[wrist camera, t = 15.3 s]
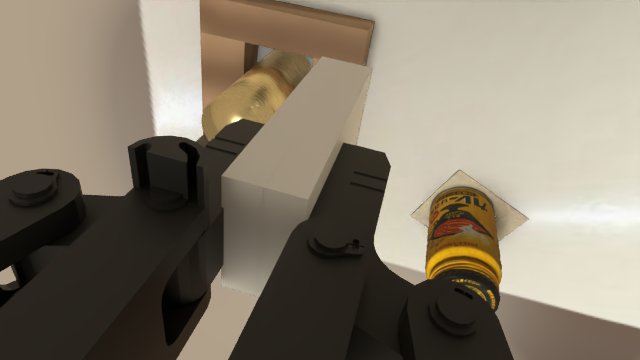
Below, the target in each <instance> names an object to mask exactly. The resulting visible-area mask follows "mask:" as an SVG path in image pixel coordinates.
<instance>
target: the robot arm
mask: <svg viewBox="0 0 640 360" xmlns="http://www.w3.org/2000/svg"><path fill="white" fill-rule="evenodd" d="M371 73H372V68H371V67H367V66H362V65H358V64H354V63H349V62H345V61H340V60H336V59H331V58H327V57H323V56H322V57H321V58H320V60H319V61H318V62H317V63H316V64H315V65H314V67H313V68H312V69H311V70H310V71H309V73H308V74H307V75H306V76H305V77H304V78H303V80H302V81H301V82H300V83H299V84H298V86H297V87H296V88H295V89H294V90H293V92H292V93H291V94H290V95H289V96H288V97H287V99H286V100H285V101H284V102H283V103H282V105H281V106H280V107H279V108H278V109H277V110H276V112H275V113H274V114H273V115H272V116H271V118H270V119H269V120H268V121H267V122H266V124H263V123H259V122H255V121H251V120H247V119H240V120H238V121H236V122H233V123H231V124H228V125H226V126H225V127H224V128H223V129H222V130H221V131H220V132H219V133H218V134H217V135H216V136H215V138H214V139H212V140H211V141H210V142H209V143H208V144H206V147H205V148H204V147H202V146H201V145H200V144H199V143H197V142H195V141H192V140H190V139H188V138H183V137H176V136H155V137H151V138H147V139H143V140H140V141H137V142H136V143H134V144H132V145H130V146H128V152H129V159H130V166H131V172H132V179H133V186H134V188H133V189H132V190H131V191H129V192H128V193H127V194H126V195H125V196H99V195H83V194H82V190H81V186H80V182H79V180H78V179H77V178H76V177H75V176H74V175H73V174H71V173H68V172H65V171H62V170H59V169H37V170H31V171H25V172H22V173H19V174H16V175H13V176H9V177H7V178H5V179H3V180H0V272H1V271H2V270H4V269H6V268H7V267H9V266H11V268H12V270H13V273H14V275H15V277H16V281H13V282H11V283H9V284H6V285H0V360H176V359H177V357H178V356H179V354H180V352H181V351H182V349H183V347H184V346H185V344H186V342H187V341H188V339H189V337H190V336H191V334H192V332H193V331H194V329H195V327H196V326H197V324H198V323H199V321H200V319H201V317H202V316H203V314H204V313H205V311H206V309H207V307H208V305H209V302H210V298H211V283H212V282H213V280H214V278H215V277H216V275H217V274H218V272H219V271H220V269H221V270H222V271H221V275H222V276H221V282H222V283H221V285H222V286H225V287H228V288H231V289H234V290H238V291H241V292H244V293H247V294H250V295H253V296H257V297H259V299H258V301H257V303H256V305H255V307H254V309H253V311H252V313H251V315H250V317H249V319H248V321H247V323H246V325H245V327H244V329H243V331H242V333H241V335H240V337H239V339H238V341H237V343H236V345H235V347H234V349H233V351H232V353H231V355H230V357H229V359H228V360H514V359H513V356H512V354H511V351H510V348H509V346H508V343H507V341H506V338H505V335H504V333H503V330H502V327H501V325H500V322H499V319H498V318H497V316H496V314H495V312H494V311H493V309H492V307H491V306H490V304H489V303H488V302H487V301H485V300H484V299H483V298H482V297H481V296H480V295H479V294H478V293H477V292H476V291H474V290H472V289H470V288H468V287H466V286H465V285H463V284H461V283H458V282H454V281H450V280H447V279H427V280H426V281H423V282H421V283H419V284H417V285H413V284H411V283H410V282H408V281H406V280H404V279H403V278H401V277H399V276H398V275H396V274H395V273H394V272H392V271H391V270H389V269H388V267H387V266H386V265H385V264H384V263H383V262H382V261H381V260H380V258H379V256H378V255H377V253H376V250H375V247H374V234H375V230H376V226H377V222H378V218H379V213H380V209H381V205H382V201H383V197H384V193H385V189H386V185H387V180H388V176H389V172H390V168H391V166H390V163H389V161H388V159H387V157H386V154H385V153H384V152H380V151H376V150H372V149H368V148H364V147H360V146H356V143H357V139H358V134H359V129H360V124H361V120H362V115H363V110H364V106H365V101H366V96H367V92H368V87H369V82H370V78H371Z"/></svg>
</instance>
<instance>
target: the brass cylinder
mask: <svg viewBox="0 0 640 360" xmlns="http://www.w3.org/2000/svg"><path fill="white" fill-rule="evenodd" d="M310 70H311V69H310V66H309V63H308V61H307V60H306V58H305V57H304V56H303V55H299V54H295V53H291V52H286V51H282V50H277V49H275V50H273V51H272V52H270V53H269V54H268V55H267V56H266V57H264V58H263V59H262V60H261V61H260V62H258V63H257V64H256V65H255V66H254V67H252V68H251V69H250V70H249V71H248V72H246V73H245V74H244V75H243V76H242V77H241V78H239V79H238V80H237V81H236V82H235V83H233V84H232V85H231V86H230V87H229V88H227V89H226V90H225V91H224V92H223V93H221V94H220V95H219V96H218V97H217V98H215V99H214V100H213V101H212V102H211V103H209V104H208V105H207V106H206V108H205V110H204V112H203V114H202V127H203V131H204V134H205V136H206V138H207V139H208V141H209V142H210V141H211V140H212V139H214V138H215V136H216V135H217V134H218V133H219V132H220V131H221V130H222V129H223V128H224V127H225V126H226V125H228V124H231V123H233V122H236V121H238V120H240V119H247V120H251V121H255V122H259V123H263V124H266V122H267V121H268V120H269V119H270V118H271V116H272V115H273V114H274V113H275V112H276V110H277V109H278V108H279V107H280V106H281V105H282V103H283V102H284V101H285V100H286V99H287V97H288V96H289V95H290V94H291V93H292V92H293V90H294V89H295V88H296V87H297V86H298V84H299V83H300V82H301V81H302V80H303V78H304V77H305V76H306V75H307V74H308V73H309V71H310Z"/></svg>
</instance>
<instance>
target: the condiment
mask: <svg viewBox="0 0 640 360" xmlns="http://www.w3.org/2000/svg"><path fill="white" fill-rule="evenodd" d="M495 216H496V218H495ZM411 217H413V218H414V219H416V220H417V221H419V222H420V223H422V224H423V225H425V226H426V227H427V228H428V239H427V241H428V244H427V251H426V267H425V269H426V276H427V278H428V279H447V280H450V281H454V282H458V283H461V284H463V285H465V286H466V287H468V288H470V289H472V290H474V291H476V292H477V293H478V294H479V295H480V296H481V297H482V298H483V299H484V300H485V301H487V302H488V303H489V304H490V306H491V307H492V309H493V311H494V312H495V311H496V310H497V309H498V305H499V302H500V296H499V284H500V282H501V278H502V273H501V269H502V265H501V262H500V251H499V244H498V241H500V240H501V239H502V238H504V236H506V235H508V234H509V233H511V232H512V231H514V230H515V229H516V228H517V227H519V226H521V225H522V224H523V223H525V222H526V221H527V220H529V219H528V218H526V217H525V216H523V215H522V214H521V213H519V212H518V211H517V210H515V209H513V208H512V207H511V206H509V205H508V204H507V203H505V202H504V201H502V200H501V199H500V198H498V197H497V196H496V195H494V194H493V193H492V192H490V191H489V190H487V189H486V188H485V187H483V186H482V185H481V184H479V183H478V182H476V181H475V180H474V179H472V178H470V177H469V176H468V175H466V174H465V173H463V172H462V171H460V170H459V171H458V172H457V173H456V174H455V175H453V176H452V177H451V178H450V179H449V180H448V181H447V182H446V183H445V184H443V185H442V186H441V187H440V188H439V189H438V190H437V191H436V192H435V193H434V194H433V195H432V196H431V197H430V198H429V199H427V200H426V201H425V202H424V203H423V204H422V205H421V206H420V208H418V209H417V210H416V211H415V212H414V213H413V214H412V215H411ZM495 219H496V220H497V221H495Z"/></svg>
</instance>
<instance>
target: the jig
mask: <svg viewBox="0 0 640 360" xmlns="http://www.w3.org/2000/svg"><path fill="white" fill-rule="evenodd" d="M374 23H375V21H370V20H365V19H360V18H355V17H351V16H346V15H341V14H336V13H332V12H327V11H322V10H317V9H313V8H308V7H303V6H298V5H294V4H289V3H284V2H279V1H275V0H200V29H201V65H202V101H203V112H204V110H205V108H206V106H207V105H208V104H209V103H211V102H212V101H213V100H214V99H215V98H217V97H218V96H219V95H220V94H221V93H223V92H224V91H225V90H226V89H227V88H229V87H230V86H231V85H232V84H233V83H235V82H236V81H237V80H238V79H239V78H241V77H242V76H243V75H244V74H245V73H246V72H248V71H249V70H250V69H251V68H252V67H254V66H255V65H256V64H257V47H258V45H260V46H264V47H269V48H273V49H277V50H282V51H286V52H291V53H295V54H299V55H304V56H308V57H313V66H312V68H313V67H314V65H315V64H316V63H317V62H318V61H319V60H320V58H321V57H322V56H323V57H327V58H331V59H336V60H340V61H345V62H349V63H354V64H358V65H362V66H366V62H367V57H368V52H369V47H370V42H371V37H372V32H373V28H374ZM196 142H197V143H199V144H200V145H201V146H202V147H204V148H205V147H206V144H208V143H209V141H208V139H207V138H206V136H205V134H204V131H203V136H202V137H200V138H199V139H198V140H197V141H196Z"/></svg>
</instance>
